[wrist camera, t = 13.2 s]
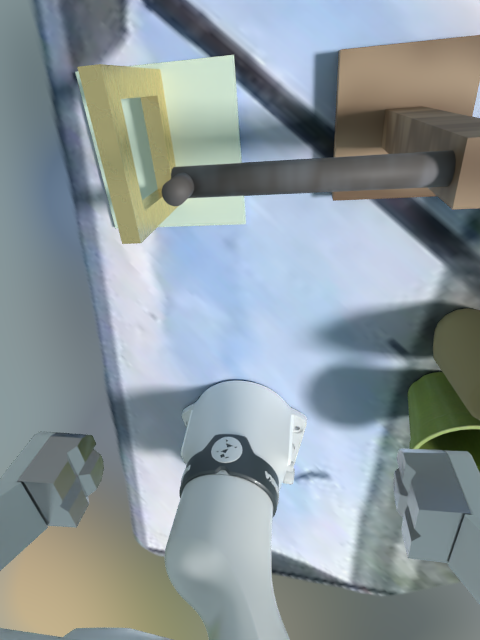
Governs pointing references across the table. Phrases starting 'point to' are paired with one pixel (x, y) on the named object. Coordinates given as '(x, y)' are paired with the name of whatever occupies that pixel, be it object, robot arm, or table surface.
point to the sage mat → (189, 134)
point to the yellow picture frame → (114, 146)
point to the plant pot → (441, 418)
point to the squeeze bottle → (460, 355)
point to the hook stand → (377, 133)
